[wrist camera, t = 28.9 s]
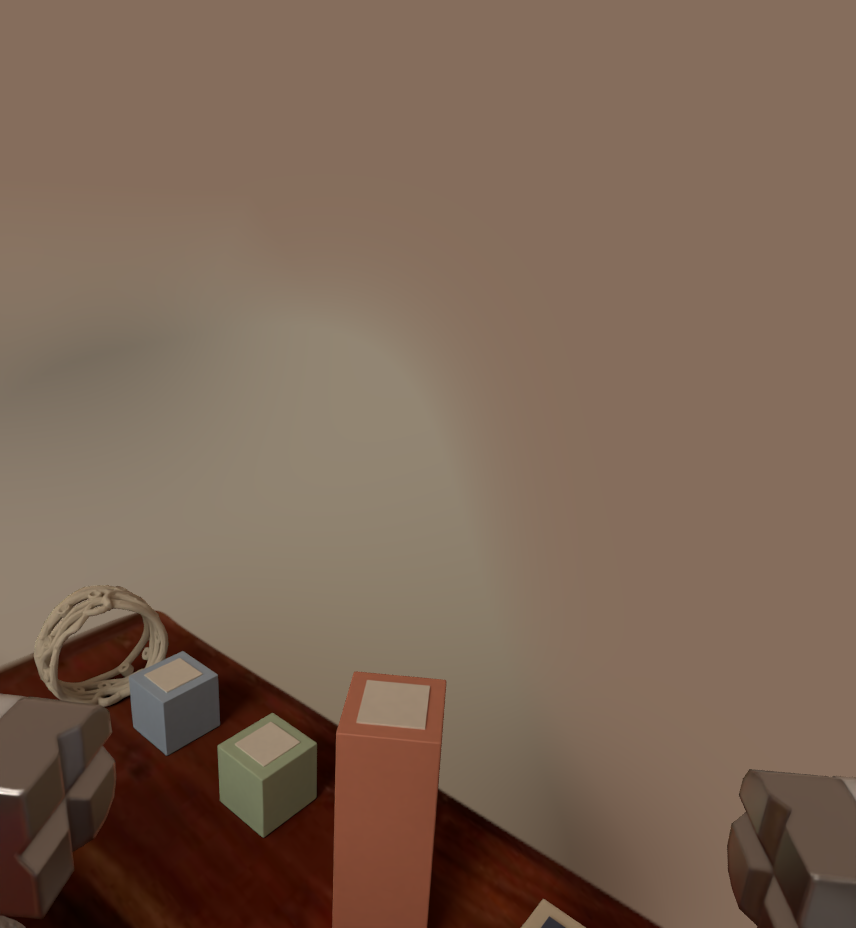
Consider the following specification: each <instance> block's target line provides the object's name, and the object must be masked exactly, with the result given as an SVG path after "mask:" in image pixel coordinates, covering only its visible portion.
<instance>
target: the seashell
mask: <svg viewBox="0 0 856 928" xmlns="http://www.w3.org/2000/svg"><path fill="white" fill-rule="evenodd" d="M0 928H26V927H25V926H24V925H22V924H21V923H19V922H18V921H16V920H13V919H10V918H7V917H5V916H0Z"/></svg>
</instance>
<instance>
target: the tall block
mask: <svg viewBox="0 0 856 928" xmlns="http://www.w3.org/2000/svg"><path fill="white" fill-rule="evenodd" d="M445 693H446V680H441V679H429V678H419V677H409V676H397V675H386V674H376V673H366V672H354V674H353V677H352V681H351V684H350V687H349V691H348V694H347V698H346V701H345V705H344V708H343V712H342V715H341V719H340V722H339V725H338V729H337V732H336V768H335V819H334V869H333V920H332V928H427V924H428V912H429V899H430V886H431V874H432V861H433V848H434V835H435V822H436V809H437V796H438V783H439V770H440V758H441V744H442V732H443V718H444V705H445Z"/></svg>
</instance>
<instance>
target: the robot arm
mask: <svg viewBox="0 0 856 928" xmlns="http://www.w3.org/2000/svg"><path fill="white" fill-rule="evenodd" d="M111 733H112V729H111V722H110V715H109V711H108V710H107V709H106V708H104V707H103V706H101V705H94V704H86V703H78V702H70V701H62V700H53V699H45V698H37V697H24V696H16V695H7V694H0V916H11V917H23V918H35V919H43V918H44V916H45V914H46V913H47V911H48V910H49V908H50V907H51V905H52V904H53V902H54V901H55V899H56V897H57V896H58V894H59V893H60V891H61V890H62V888H63V887H64V885H65V883H66V882H67V880H68V879H69V877H70V876H71V874H72V873H73V871H74V862H73V854H72V852H74V851H76V850H77V849H79V848H80V847H82V846H84V845H85V844H87V843H88V842H90V841H91V840H93V839H94V838H95V836H96V835H97V833H98V831H99V830H100V828H101V827H102V825H103V823H104V822H105V820H106V818H107V815H108V812H109V809H110V806H111V803H112V800H113V797H114V792H115V783H116V767H115V760H114V759H113V758H112V757H111V755H110V754H109V753H108V752H107V751H106V749H105V748H104V747H103V746H102V745H103V744H104V743H105V741H106V740H107V739H108V737H109V736H110V734H111ZM739 796H740V799H741V801H742V803H743V805H744V808H745V810H746V812H745V813H744V814H743V815H742V816H741V817H739V818H738V819H737V820H736V821H734V822H733V823H732V825H731V830H730V835H729V840H728V845H727V850H728V851H727V852H728V872H729V877H730V881H731V886H732V890H733V893H734V896H735V898H736V901H737V904H738V907H739V909H740V910H741V911H742V912H743V913H744V914H745V915H746V916H747V917H748V918H750V919H751V920H752V921H753V922H754V923H755V924H756V925H757V928H856V778H855V777H841V776H833V777H827V776H817V775H807V774H795V773H785V772H774V771H763V770H752V769H750V770H749V771H748V772H747V774H746V775H745V777H744V778H743V781H742V785H741V789H740V793H739Z"/></svg>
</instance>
